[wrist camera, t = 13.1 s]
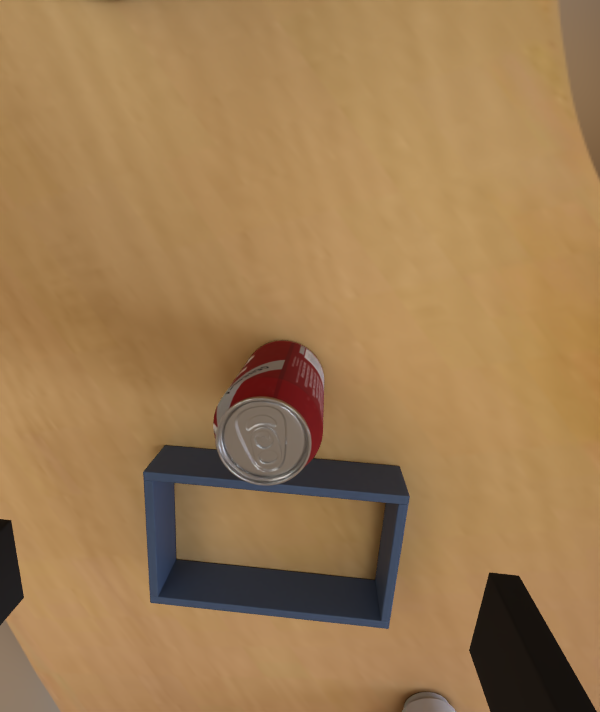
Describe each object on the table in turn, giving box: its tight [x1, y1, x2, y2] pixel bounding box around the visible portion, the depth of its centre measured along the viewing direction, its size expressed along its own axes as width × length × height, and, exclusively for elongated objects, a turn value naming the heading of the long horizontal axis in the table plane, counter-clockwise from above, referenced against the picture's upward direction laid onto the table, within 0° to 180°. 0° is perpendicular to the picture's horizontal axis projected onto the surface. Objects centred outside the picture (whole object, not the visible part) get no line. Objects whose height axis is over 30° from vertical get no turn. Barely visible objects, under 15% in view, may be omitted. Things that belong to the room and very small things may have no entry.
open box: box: [143, 445, 410, 629], centre depth 36 cm, size 14×22×4 cm, turn 87°
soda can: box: [213, 340, 324, 485], centre depth 28 cm, size 7×7×12 cm
